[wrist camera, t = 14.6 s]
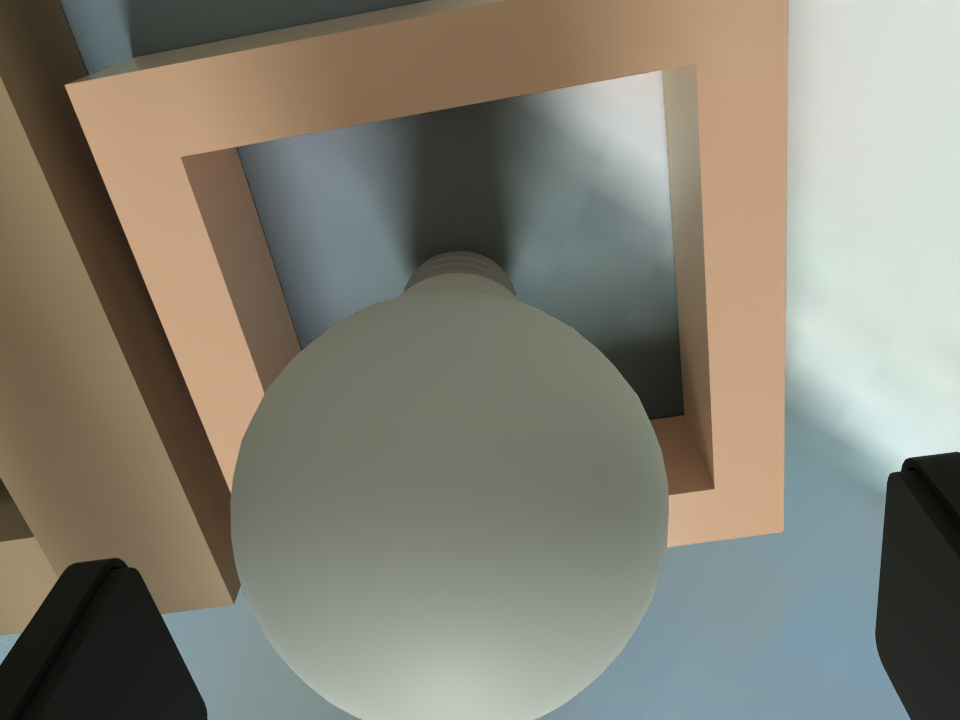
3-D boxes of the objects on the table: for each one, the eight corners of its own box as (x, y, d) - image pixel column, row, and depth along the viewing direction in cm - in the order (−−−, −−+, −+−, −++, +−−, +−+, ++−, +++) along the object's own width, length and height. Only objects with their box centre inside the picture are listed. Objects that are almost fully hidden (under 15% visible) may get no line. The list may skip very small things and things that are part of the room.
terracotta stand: (734, -59, 15) (788, -54, 13) (745, 454, 21) (783, 531, 18) (131, 57, 16) (64, 84, 14) (298, 517, 22) (273, 599, 19)
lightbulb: (543, 114, 17) (638, 360, 7) (624, 357, 19) (772, 777, 10) (281, 215, 18) (46, 552, 8) (392, 433, 20) (317, 884, 11)
